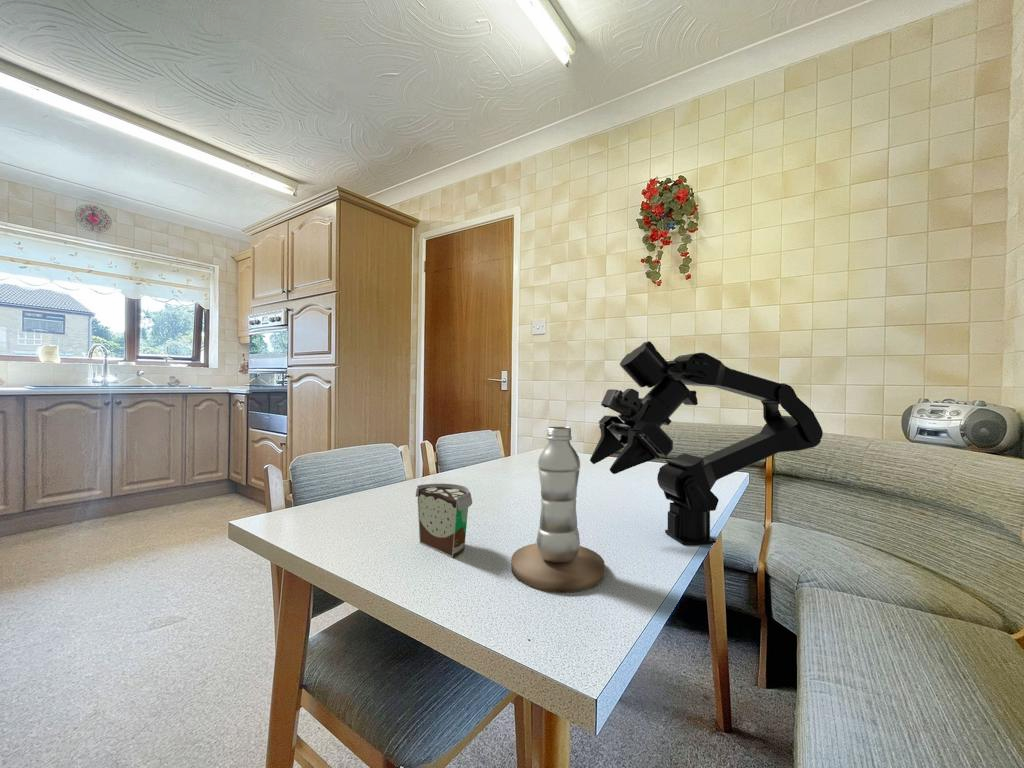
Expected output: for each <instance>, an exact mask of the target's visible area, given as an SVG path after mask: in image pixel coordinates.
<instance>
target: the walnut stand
mask: <svg viewBox="0 0 1024 768" xmlns="http://www.w3.org/2000/svg"><path fill="white" fill-rule="evenodd" d="M605 563H606V562H605V560H604V558H602V556H601V555H600V554H599V553H597V552H596V551H594V550H592V549H590V548H588V547H586V546H582V545H580V546H579V552H578V554H577V556H576V557H575V559H574V560H572V561H569V562H565V563H555V562H549V561H546V560H544V559H543V558H542V557H541V556H540V554H539V552H538V548H537V542H535V543H531V544H528V545H525V546H522V547H519V548H518V549H516V550H515V551H514V552H513V554H512V555H511V567H510V570H511V574H512V575H513V577H514V578H515V579H516V580H517V581H519V582H520V583H522V584H524V585H525V586H528V587H530V588H533V589H536V590H540V591H544V592H550V593H577V592H583V591H586V590H587V591H588V590H590V589H593V588H594V587H596V586H598V585H599V584H601V583H602V582H603V581H604V579H605V574H606V573H605V572H606V571H605V570H606V569H605V568H606V567H605Z"/></svg>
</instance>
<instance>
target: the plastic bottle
mask: <svg viewBox="0 0 1024 768" xmlns="http://www.w3.org/2000/svg"><path fill="white" fill-rule="evenodd" d="M546 430H547V431H546V432H547V433H546V440H547V444H546V445H545V447H544V449H543V450H542V451H541V453H540V455H539V457H538V461H537V465H538V467H537V468H538V475H539V484H540V497H541V499H540V504H541V507H540V519H539V527H538V530H537V536H536V543H537V548H538V552H539V554H540V556H541V557H542V558H543V559H544V560H546V561H549V562H555V563H565V562H569V561H572V560H574V559H575V557H576V556H577V554H578V552H579V546H581V540H580V532H579V529H578V516H577V495H578V483H579V479H580V478H579V477H580V471H581V470H580V469H581V460H580V457H579V455H578V453H577V451H576V450H575V448H574V447H573V445H571V442H570V441H572V439H573V438H572V437H573V436H572V428H571V427H569V426H547V428H546Z"/></svg>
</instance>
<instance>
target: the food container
mask: <svg viewBox="0 0 1024 768" xmlns="http://www.w3.org/2000/svg"><path fill="white" fill-rule="evenodd" d="M416 486H417V488H416V490H415V497H417V512H418V513H417V514H418V517H417V518H418V535H419V536H418V538H419V544H421V545H423V546H425V547H427V548H429V549H432V550H433V551H436V552H438V553H440V554H443V555H445V556H447V557H449V558H451V559H455V558H457V557H459V556H460V555H462V554H463V553H464V550H465V549H466V548H465V547H466V545H465V544H466V536H467V535H466V533H467V526H468V525H467V524H468V513H469V508H470V507H471V506H472V505H473V498H472V494H471V492H470V489H469V488H468V487H466V486H464V485H461V484H454V483H443V482H442V483H426V484H418V485H416Z"/></svg>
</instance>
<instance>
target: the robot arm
mask: <svg viewBox="0 0 1024 768" xmlns="http://www.w3.org/2000/svg"><path fill="white" fill-rule="evenodd" d="M619 365H620V367H621V368H622V369H623V371H624V372H625V373H627V375H629V377H630V378H631V379H632V380H633V382H635V383H636V384H637V386H638V387H640V388H645V387H647V388H648V389H650V388H651V389H650V390H649V391H648V392H647V393H646V394H645V396H644V397H643V398H642V397H640V392H639V391H638V390H636V389H634V388H626V389H625V390H624V391H623V390H619V389H613V388H612V389H607V391H605V392H606V393H605V395H604V397H603V399H602V401H601V404H600V405H601V406H602V407H603V408H608V409H609V410H612V411H614V412H616V413H618V415H617V416H615V415H603V416H602V417H601V419H600V420H599V421H598V424H599V426H598V427H599V429H600V438H599V439H598V442H597V444H596V447H595V449H594V450H593V453H592V455H591V456H590V459H589V461H590V463H591V464H593V465H595V464H598V463H600V462H601V461H604V459H605V460H606V458H608V457H611V456H612V455H613V454H615V453H618V452H619V451H620V450H622V451H621V452H620V453H619V455H618V456H617V458H616V459H615V460H614V461H613V463H612V464H611V466H610V468H609V472H611V474H613V475H616V474H619V473H621V472H623V471H626V470H628V469H631V468H634V467H636V466H639V465H641V464H644V463H646V462H650V461H653V460H659V459H660V456H661V457H663V458H667V456H669V454H670V453H672V451H673V450H674V441H673V439H671V437H670V436H669V435H668V434H667V433H666V432H665V431H664V430H663V429H662V428H661V427H662V426H669V425H670V424H671V423H672V422H673V421H672V420H671V419H670V417H672V415H673V414H674V413H675V412H676V411H677V409H679V408H680V407H681V406H682V405H685V406H697V405H699V403H698V397H697V391H696V390H690V389H689V388H688V387H687V386H694V387H708V388H709V387H710V388H717V389H720V390H722V391H726V392H730V393H733V394H738V395H740V396H744V397H748V398H751V399H755V400H757V401H760V402H761V404H762V406H763V408H762V409H763V411H762V412H763V414H762V415H763V419H764V422H765V424H764V425H763V427H762V429H761V431H760V432H759V433H756V434H755V435H752V436H749V437H747V438H745V439H743V440H740V441H738V442H736V443H733V444H731V445H729V446H726V447H724V448H721V449H719V450H717V451H714V452H712V453H710V454H708V455H705V456H704V457H700V456H695V455H692V454H689V453H681V454H679V455H678V456H676V457H674V458H672V459H665V464H663V465H662V466H660V467H659V470H658V473H657V479H656V480H657V485H658V486H659V488H660V489H661V490H662V491H663V493H664V496H665V499H666V500H667V501H668V500H669V501H671V502H669V510H668V511H667V529H665V530H664V533H665V534H667V535H668V536H670V537H671V538H672V539H674V540H676V541H678V542H679V543H681V544H682V545H685V546H686V545H700V544H701V545H702V544H703V545H704V544H714V543H715V544H716V543H717V540H716V539H715V538H714V537H711V512H712V511H713V512H714V511H716V510H717V507H718V504H719V501H720V500H719V497H717V495H715V494H714V493H713V492H712V488H713V487H714V485H715V484H716V481H718V480H720V479H723V478H724V477H728V476H729V475H731V474H733V473H735V472H736V473H737V472H738V471H741V470H743V469H746V468H747V467H749V466H751V465H754V464H756V463H759V462H761V461H763V460H765V459H767V458H769V457H772V456H774V455H777V454H779V453H785V452H786V453H787V452H798V451H804V450H808V449H813V448H816V447H817V446H818V445H820V443H821V441H822V438H823V434H824V433H823V429H822V427H821V425H820V423H819V421H818V419H817V416H816V414H815V413H814V411H813V409H811V408H810V407H809V406H808V405H807V404H806V403H805V402H804V401H802V400H801V399H800V398H799V397H798V395H797V394H796V392H795V390H794V387H792V386H791V385H789V384H787V383H782V382H781V383H779V382H776V381H773V380H769V379H767V378H763V377H760V376H757V375H752V374H750V373H746V372H742V371H740V370H736V369H732V368H731V367H728V366H727V365H725V364H724V363H723V362H722V361H721V360H719V359H718V358H716V357H714V356H712V355H710V354H708V353H706V352H697V353H696V352H695V353H689V354H683V355H682V354H680V355H678V356H677V357H675V358H674V359H673V360H666V359H665V358H664V357H663V355H661V353H660V352H659V351H658V350H657V348H656V346H655V345H654V344H653V343H652V342H651V341H649V340H648V341H646V342H645V341H644V342H642V344H641V345H640V346H638V347H635V349H634V350H632V351H631V352H629V353H627V354H626V355H624V357H623V358H622V360H621V361H620V363H619ZM779 405H780V406H781V408H782V409H784V411H785V412H786V413H787V414H788V415H782V414H781V412H780V410H779V408H780V407H779Z"/></svg>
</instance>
